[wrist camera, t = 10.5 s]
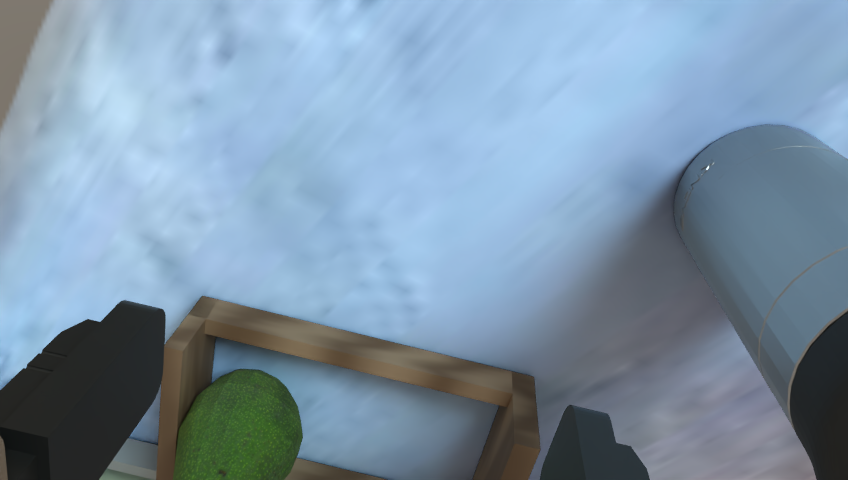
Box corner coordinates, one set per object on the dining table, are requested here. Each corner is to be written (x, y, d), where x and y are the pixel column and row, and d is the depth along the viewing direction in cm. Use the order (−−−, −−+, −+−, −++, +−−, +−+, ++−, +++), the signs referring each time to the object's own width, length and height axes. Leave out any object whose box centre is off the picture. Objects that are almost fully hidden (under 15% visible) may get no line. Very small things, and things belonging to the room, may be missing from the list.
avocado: (213, 423, 51) (138, 559, 40) (210, 339, 47) (127, 464, 36) (315, 439, 50) (267, 580, 40) (319, 356, 47) (268, 486, 36)
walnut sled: (533, 376, 46) (540, 449, 39) (481, 513, 52) (479, 595, 46) (202, 295, 45) (155, 356, 39) (189, 443, 52) (147, 516, 45)
